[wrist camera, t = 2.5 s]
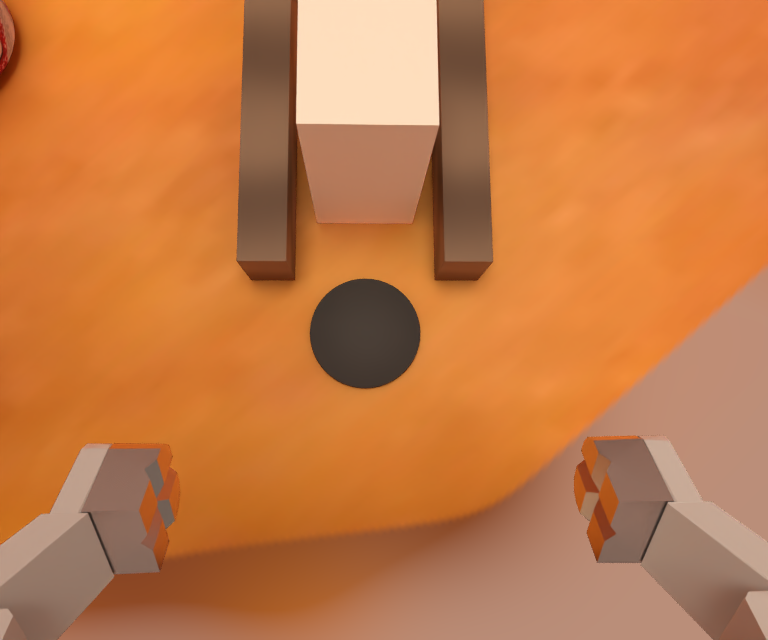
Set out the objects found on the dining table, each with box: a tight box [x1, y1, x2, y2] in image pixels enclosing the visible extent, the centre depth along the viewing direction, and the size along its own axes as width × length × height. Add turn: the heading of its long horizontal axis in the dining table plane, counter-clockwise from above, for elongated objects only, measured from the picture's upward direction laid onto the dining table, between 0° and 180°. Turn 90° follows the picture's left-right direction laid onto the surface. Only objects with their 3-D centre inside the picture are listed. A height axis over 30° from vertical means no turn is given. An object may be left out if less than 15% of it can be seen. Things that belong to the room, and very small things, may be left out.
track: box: [237, 0, 493, 280], centre depth 29 cm, size 18×10×4 cm, turn 0°
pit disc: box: [310, 279, 420, 388], centre depth 28 cm, size 5×5×1 cm
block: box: [296, 0, 439, 224], centre depth 25 cm, size 4×4×10 cm
